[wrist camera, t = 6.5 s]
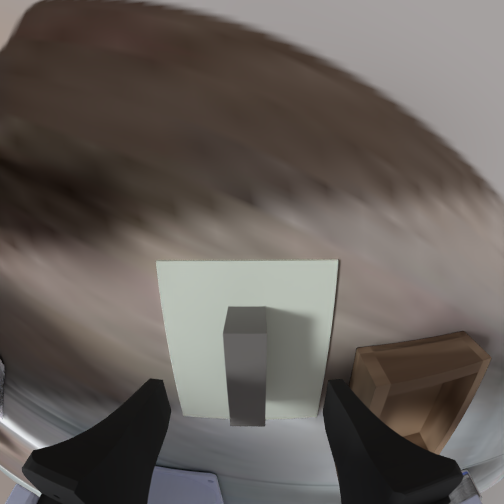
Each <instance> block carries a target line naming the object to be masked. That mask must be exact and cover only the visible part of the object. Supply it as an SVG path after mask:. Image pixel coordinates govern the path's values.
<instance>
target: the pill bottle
mask: <svg viewBox="0 0 504 504" xmlns="http://www.w3.org/2000/svg"><path fill="white" fill-rule="evenodd" d="M461 472H462V474H463V476H464V477H463V480H462V482H461V483H460V484H459V485H458V487H457V488H456V489H455V490H454V491H453V492H452V493H451V494H450V495H449V498H450V500H451V502H450V503H449V504H459V503H461V502H463V501H465V500H466V499H468V498H470V497H472V496H474V495H478V496H479V498H480V500H482V496H481V494H480V493H479V491H478V489H477V487H476V485H475V483H474V481H473V479H472V477H471V475H470V473H469V472H468V470H462V471H461Z"/></svg>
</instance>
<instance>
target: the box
mask: <svg viewBox="0 0 504 504" xmlns="http://www.w3.org/2000/svg"><path fill="white" fill-rule="evenodd" d="M490 361H491V357H490V356H489V355H488V354H487V353H486V352H485V351H484V350H483V349H482V348H481V347H480V346H479V345H478V344H477V343H476V342H475V341H474V340H473V339H472V338H471V337H470V336H469V335H467V334H466V333H465V332H464V331H461V332H456V333H451V334H446V335H441V336H436V337H430V338H425V339H419V340H413V341H406V342H399V343H392V344H385V345H377V346H368V347H359V348H357V349H356V354H355V359H354V364H353V369H352V374H351V379H350V383H349V387H350V389H351V390H352V391H353V392H354V393H355V394H356V396H357V397H358V398H359V399H360V400H361V401H362V402H363V403H364V404H365V405H366V406H367V407H368V408H369V409H370V410H371V411H372V412H373V413H374V414H375V415H376V416H377V417H378V418H379V419H380V420H381V421H382V422H384V423H385V424H386V425H387V426H388V427H390V428H391V429H392V430H394V431H395V432H396V433H398V434H399V435H401V436H402V437H404V438H405V439H407V440H409V441H411V442H412V443H414V444H416V445H418V446H420V447H422V448H424V449H426V450H428V451H430V452H433V453H435V454H438V455H439V454H440V452H441V451H442V449H443V448H444V446H445V445H446V443H447V442H448V440H449V439H450V437H451V436H452V434H453V432H454V431H455V429H456V427H457V426H458V424H459V422H460V421H461V419H462V417H463V416H464V414H465V412H466V410H467V408H468V407H469V405H470V403H471V401H472V399H473V397H474V395H475V393H476V391H477V389H478V387H479V385H480V383H481V381H482V379H483V377H484V374H485V372H486V370H487V368H488V365H489V363H490ZM335 467H336V465H335ZM336 472H337V469H336ZM337 476H338V473H337ZM338 481H339V479H338Z"/></svg>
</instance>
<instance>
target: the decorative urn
mask: <svg viewBox="0 0 504 504" xmlns="http://www.w3.org/2000/svg"><path fill="white" fill-rule="evenodd" d="M3 371H5V370H4V365H3V363H2V361H1V360H0V417H1V418H2V419H3V411H2V410H3V402H2V401H3V400H2V399H3V394H4V393H3V391H4V390H3V388H2V387H3V386H2V385H3V383H4V380H3V378H5V377H4V376H5V373H4V372H3Z"/></svg>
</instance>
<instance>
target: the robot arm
mask: <svg viewBox="0 0 504 504" xmlns="http://www.w3.org/2000/svg"><path fill="white" fill-rule="evenodd" d="M170 414H171V408H170V405H169V401H168V398H167V394H166V391H165V387H164V383H163V380H159V379H149V380H148V381H147V382H146V383H145V384H144V385H143V386H142V387H141V388H140V389H139V390H138V391H137V392H135V393H134V394H133V395H132V396H131V397H130V398H129V399H128V400H127V401H126V402H125V403H124V404H122V405H121V406H120V407H119V408H118V409H117V410H115V411H114V412H113V413H112V414H111V415H109V416H108V417H107V418H105V419H104V420H103V421H101V422H100V423H98V424H97V425H95V426H94V427H92V428H90V429H89V430H87V431H85V432H83V433H81V434H79V435H77V436H75V437H73V438H71V439H69V440H66V441H64V442H61V443H58V444H56V445H53V446H49V447H45V448H42V449H38V450H33V452H32V453H31V455H30V456H29V458H28V459H27V461H26V463H25V464H24V466H23V467H22V472H23V474H24V476H25V477H26V478H27V479H28V480H29V481H30V482H31V483H32V484H33V485H34V486H35V487H36V488H37V489H38V490H39V491H40V492H41V493H42V494H41V496H40V497H38V496H37V495H36V494H34V493H33V492H31V491H29V490H27V489H26V488H24V487H22V486H21V485H19V484H16V485H15V487H14V489H13V490H12V492H11V494H10V496H9V497H8V499H7V501H6V503H5V504H224V501H223V498H222V494H221V491H220V487H219V483H218V480H217V476H216V475H215V474H212V473H203V472H193V471H184V470H177V469H170V468H164V467H158V466H155V464H156V461H157V458H158V455H159V452H160V449H161V447H162V444H163V441H164V438H165V435H166V432H167V429H168V424H169V419H170ZM323 416H324V423H325V430H326V434H327V437H328V441H329V444H330V448H331V451H332V455H333V458H334V462H335V465H336V469H337V473H338V479H339V486H340V494H341V503H342V504H449V503H450V502H451V500H450V498H449V495H450V494H451V493H452V492H453V491H454V490H455V489H456V488H457V487H458V485H459V484H460V483H461V482H462V480H463V477H464V476H463V474H462V472H461V470H460V467H459V466H458V464H457V463H456V461H455V460H453V459H450V458H447V457H444V456H441V455H438V454H435V453H433V452H430V451H428V450H426V449H424V448H422V447H420V446H418V445H416V444H414V443H412V442H411V441H409V440H407V439H405V438H404V437H402V436H401V435H399V434H398V433H396V432H395V431H394V430H392V429H391V428H390V427H388V426H387V425H386V424H385V423H384V422H382V421H381V420H380V419H379V418H378V417H377V416H376V415H375V414H374V413H373V412H372V411H371V410H370V409H369V408H368V407H367V406H366V405H365V404H364V403H363V402H362V401H361V400H360V399H359V398H358V397H357V396H356V394H355V393H354V392H353V391H352V390H351V389H350V387H349V386H348V385H347V384H346V383H345V381H344V380H343V379H336V380H328V386H327V392H326V397H325V403H324V408H323ZM459 504H482V503H481V500H480V498H479V496H478V495H474V496H472V497H470V498H468V499H466V500H465V501H463V502H461V503H459Z"/></svg>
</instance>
